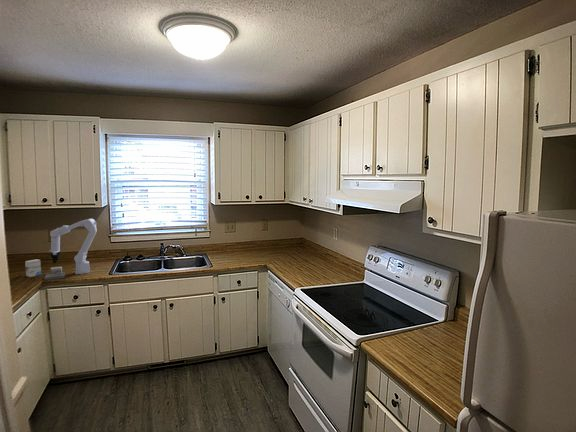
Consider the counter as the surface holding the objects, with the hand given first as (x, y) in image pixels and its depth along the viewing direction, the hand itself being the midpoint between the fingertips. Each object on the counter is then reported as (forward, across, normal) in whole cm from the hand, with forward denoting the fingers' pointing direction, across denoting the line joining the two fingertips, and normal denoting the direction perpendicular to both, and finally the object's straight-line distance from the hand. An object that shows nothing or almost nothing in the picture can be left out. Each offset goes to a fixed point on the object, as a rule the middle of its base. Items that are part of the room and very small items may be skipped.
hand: (55, 261), depth 268 cm
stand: (+9, +12, +1) cm, 15 cm away
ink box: (+11, -3, -14) cm, 18 cm away
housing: (+10, 0, +1) cm, 10 cm away
